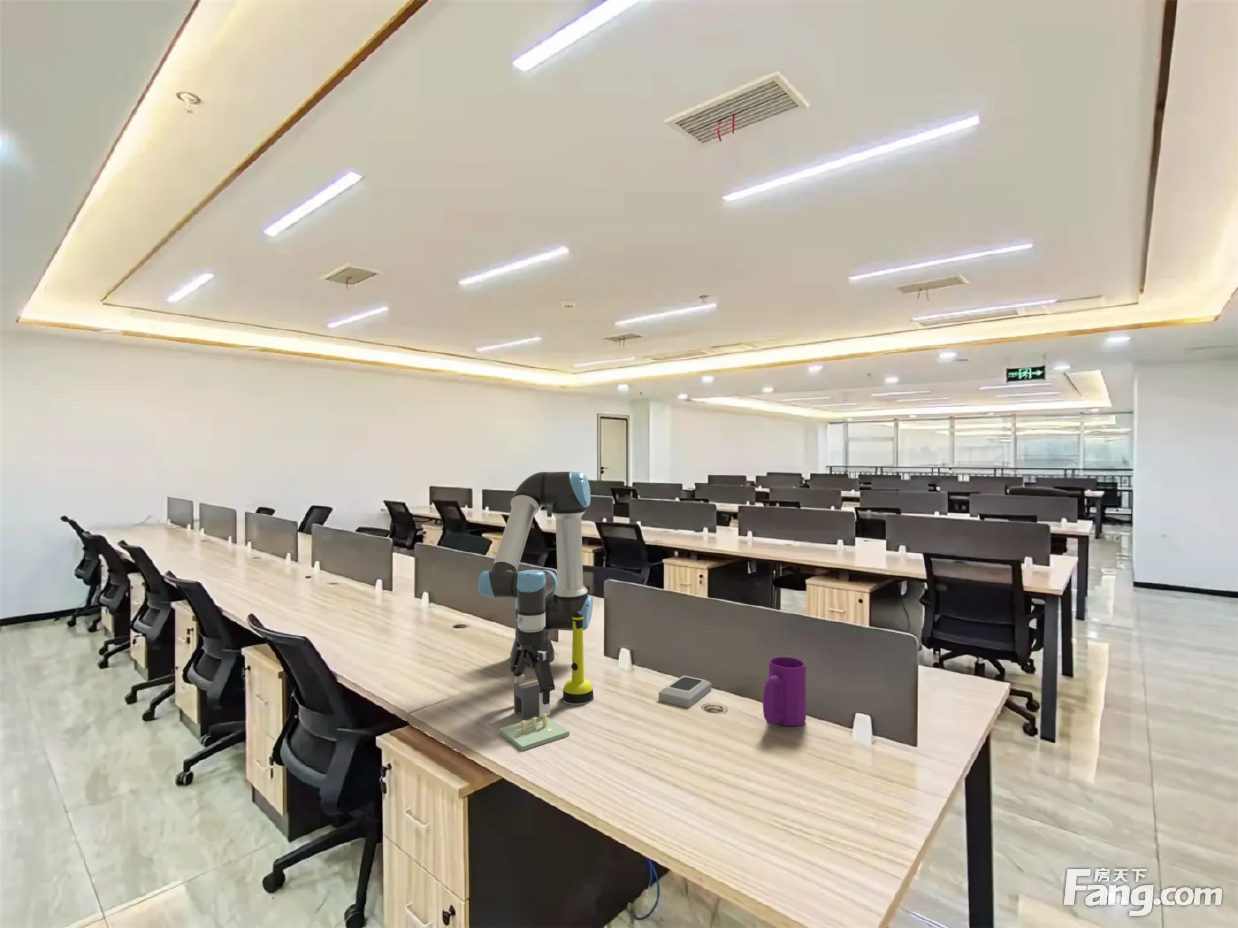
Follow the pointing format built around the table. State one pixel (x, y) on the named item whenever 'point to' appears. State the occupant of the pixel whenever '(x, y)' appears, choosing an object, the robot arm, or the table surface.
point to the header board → (533, 732)
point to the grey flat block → (685, 691)
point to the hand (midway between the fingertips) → (531, 707)
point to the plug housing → (527, 698)
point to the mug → (785, 692)
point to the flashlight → (577, 669)
